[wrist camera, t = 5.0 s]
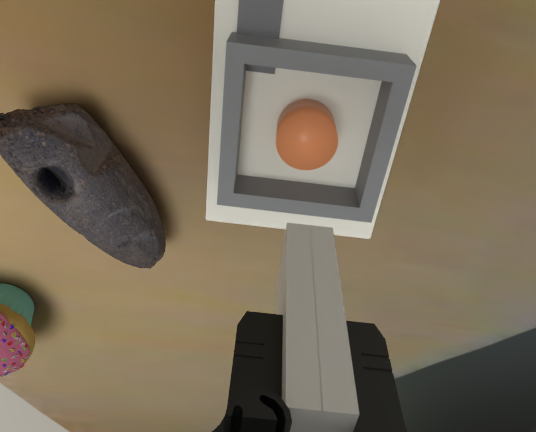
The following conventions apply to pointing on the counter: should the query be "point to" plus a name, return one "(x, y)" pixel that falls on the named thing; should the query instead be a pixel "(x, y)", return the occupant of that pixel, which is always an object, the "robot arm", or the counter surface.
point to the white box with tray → (315, 88)
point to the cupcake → (15, 328)
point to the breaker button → (306, 135)
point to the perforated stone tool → (83, 180)
